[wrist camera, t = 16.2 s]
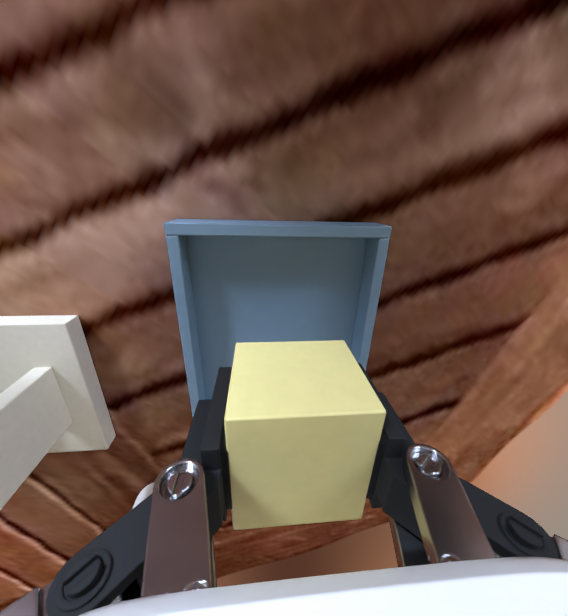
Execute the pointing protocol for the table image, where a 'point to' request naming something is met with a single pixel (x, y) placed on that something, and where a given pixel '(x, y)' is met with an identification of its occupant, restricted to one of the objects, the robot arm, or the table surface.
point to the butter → (299, 433)
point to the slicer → (46, 395)
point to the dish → (271, 287)
